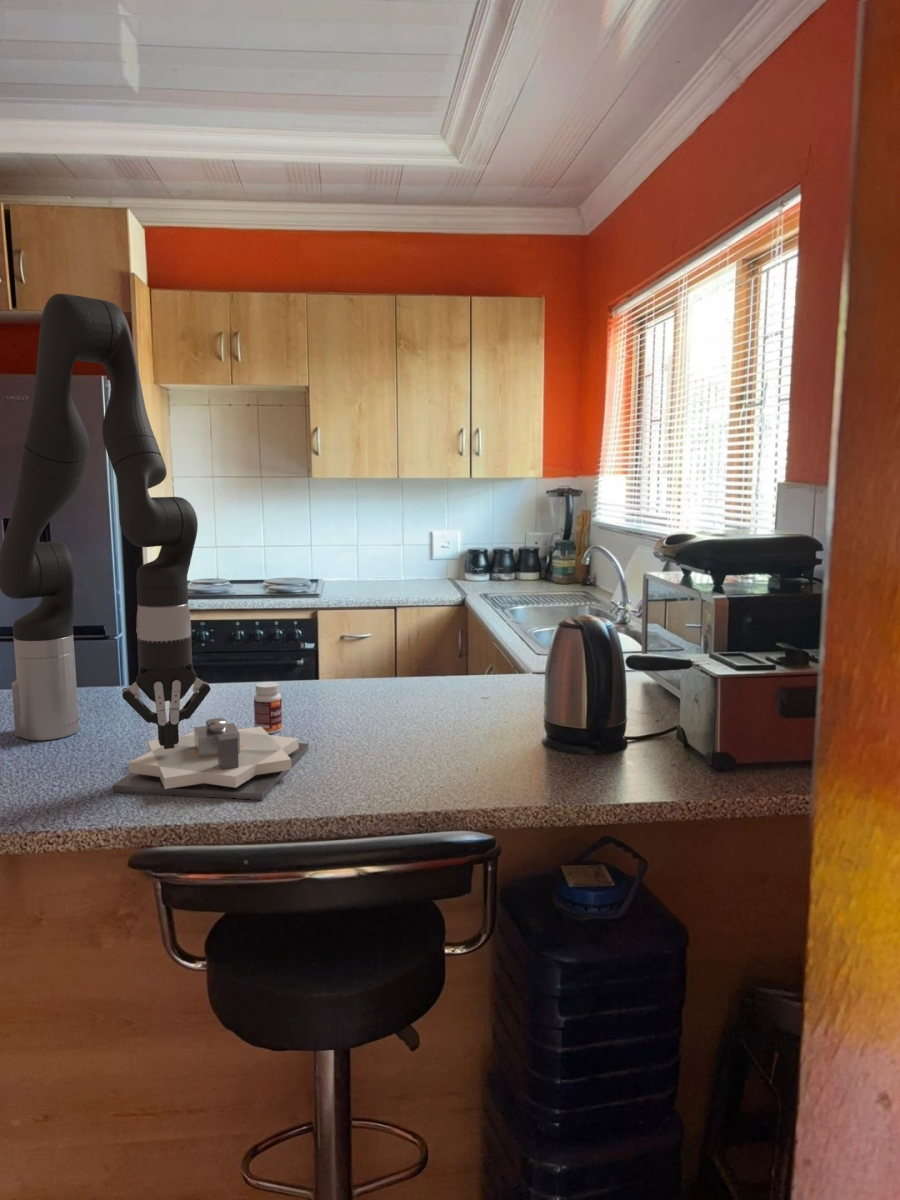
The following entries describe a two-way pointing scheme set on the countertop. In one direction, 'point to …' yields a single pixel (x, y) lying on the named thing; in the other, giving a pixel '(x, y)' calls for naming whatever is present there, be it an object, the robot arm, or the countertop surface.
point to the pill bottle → (268, 707)
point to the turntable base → (248, 790)
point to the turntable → (217, 759)
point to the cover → (212, 736)
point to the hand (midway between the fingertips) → (169, 747)
